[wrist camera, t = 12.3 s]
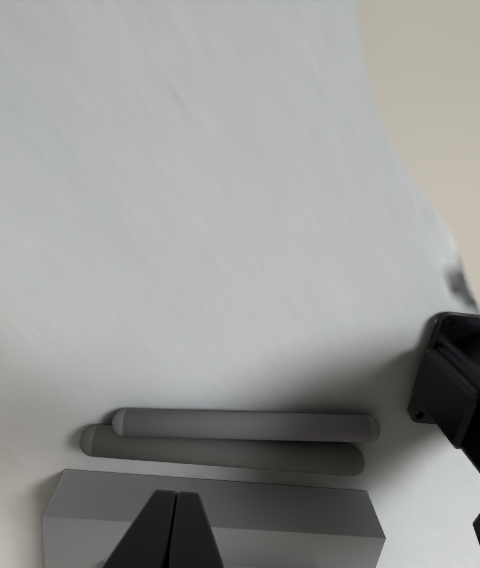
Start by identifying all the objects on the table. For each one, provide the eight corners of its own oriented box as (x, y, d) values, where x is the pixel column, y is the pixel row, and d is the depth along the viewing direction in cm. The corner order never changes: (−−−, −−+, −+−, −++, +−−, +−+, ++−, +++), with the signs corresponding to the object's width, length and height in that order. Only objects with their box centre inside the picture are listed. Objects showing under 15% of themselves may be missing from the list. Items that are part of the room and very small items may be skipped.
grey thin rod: (376, 410, 21) (386, 427, 20) (372, 430, 22) (381, 448, 21) (115, 402, 21) (107, 420, 19) (116, 423, 21) (109, 442, 20)
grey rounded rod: (362, 439, 22) (372, 461, 21) (355, 461, 23) (365, 483, 21) (85, 417, 21) (74, 437, 19) (85, 440, 22) (75, 462, 20)
